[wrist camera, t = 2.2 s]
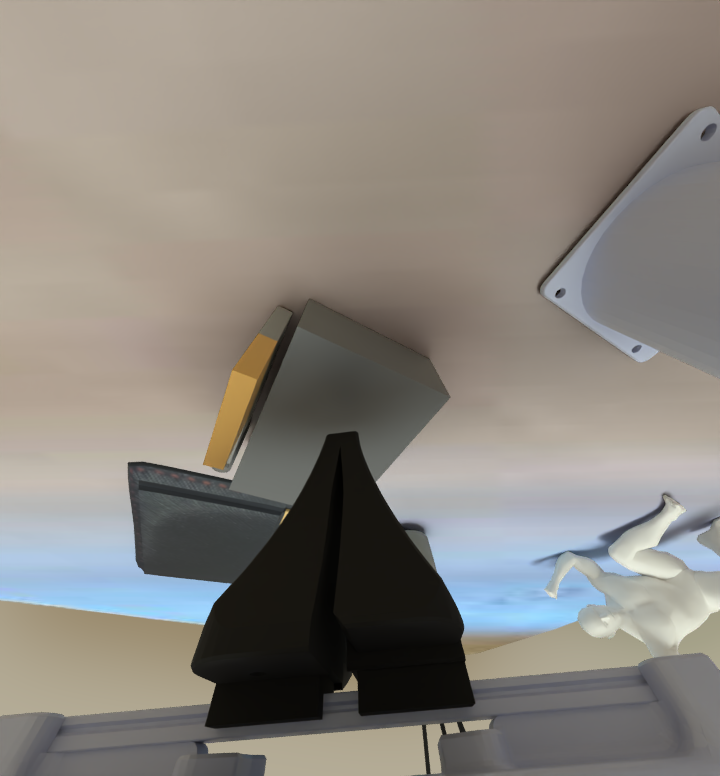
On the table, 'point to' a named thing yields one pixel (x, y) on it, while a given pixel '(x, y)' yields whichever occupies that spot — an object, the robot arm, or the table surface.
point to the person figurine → (647, 586)
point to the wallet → (197, 523)
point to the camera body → (336, 403)
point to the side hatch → (245, 392)
